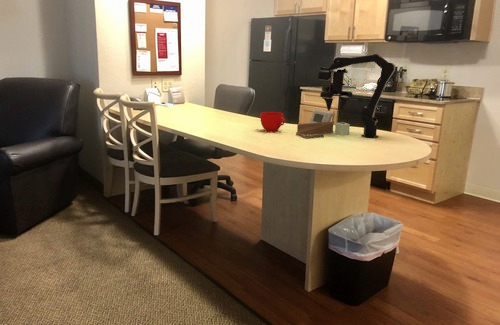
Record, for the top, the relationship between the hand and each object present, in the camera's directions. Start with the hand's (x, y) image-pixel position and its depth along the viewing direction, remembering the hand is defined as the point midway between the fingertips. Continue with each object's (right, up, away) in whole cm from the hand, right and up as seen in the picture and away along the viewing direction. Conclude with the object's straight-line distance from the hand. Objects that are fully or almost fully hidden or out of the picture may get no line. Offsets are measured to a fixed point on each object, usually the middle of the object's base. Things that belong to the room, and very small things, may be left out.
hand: (335, 110), depth 213 cm
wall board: (-9, -14, -2) cm, 16 cm away
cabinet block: (+4, -13, +1) cm, 14 cm away
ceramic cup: (-33, -11, +10) cm, 36 cm away
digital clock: (-5, -9, +18) cm, 20 cm away
